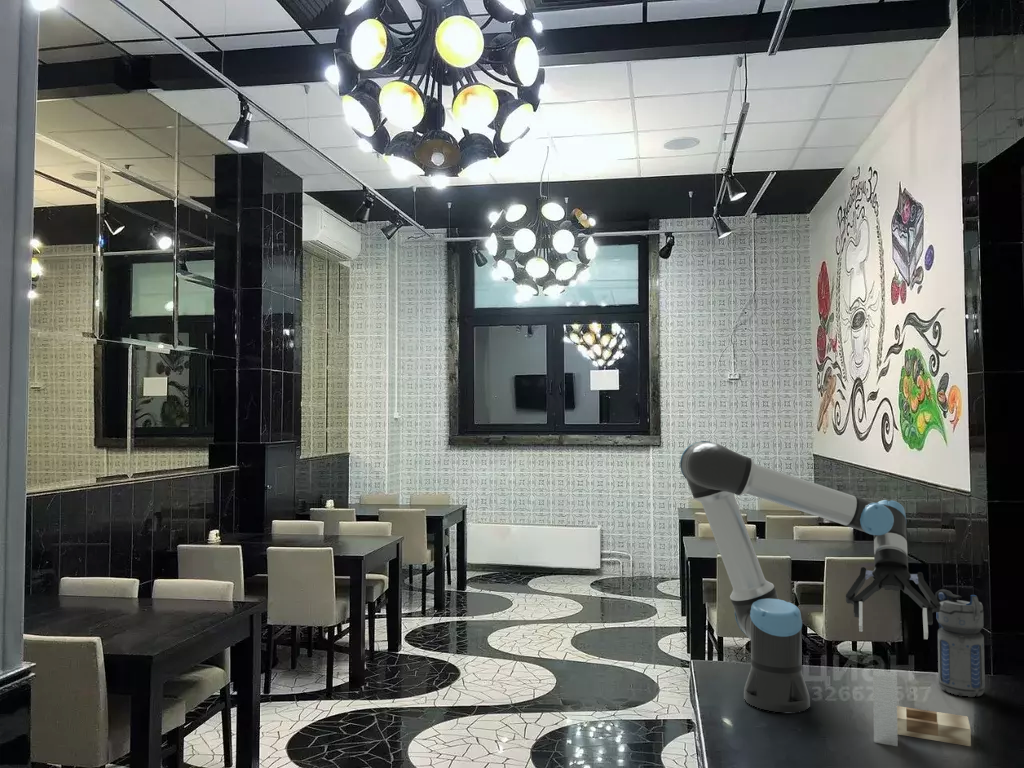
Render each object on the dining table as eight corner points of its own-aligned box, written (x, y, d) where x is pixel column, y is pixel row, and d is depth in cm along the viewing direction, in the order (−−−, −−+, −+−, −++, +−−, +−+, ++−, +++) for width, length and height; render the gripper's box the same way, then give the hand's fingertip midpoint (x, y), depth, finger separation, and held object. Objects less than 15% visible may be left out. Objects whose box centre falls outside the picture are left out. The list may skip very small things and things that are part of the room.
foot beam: (876, 730, 173) (875, 714, 173) (877, 718, 180) (876, 702, 180) (970, 746, 165) (970, 729, 165) (967, 732, 172) (967, 716, 172)
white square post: (873, 742, 167) (872, 675, 167) (874, 735, 170) (873, 669, 171) (897, 746, 165) (896, 678, 165) (897, 739, 168) (896, 672, 169)
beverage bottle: (955, 680, 206) (953, 584, 207) (997, 698, 193) (995, 595, 195) (922, 683, 204) (920, 586, 205) (962, 701, 191) (960, 597, 192)
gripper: (947, 569, 193) (953, 647, 179) (837, 560, 204) (835, 634, 189) (948, 551, 189) (955, 630, 174) (836, 543, 199) (834, 617, 185)
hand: (892, 632), depth 182 cm, fingers open, 13 cm apart
